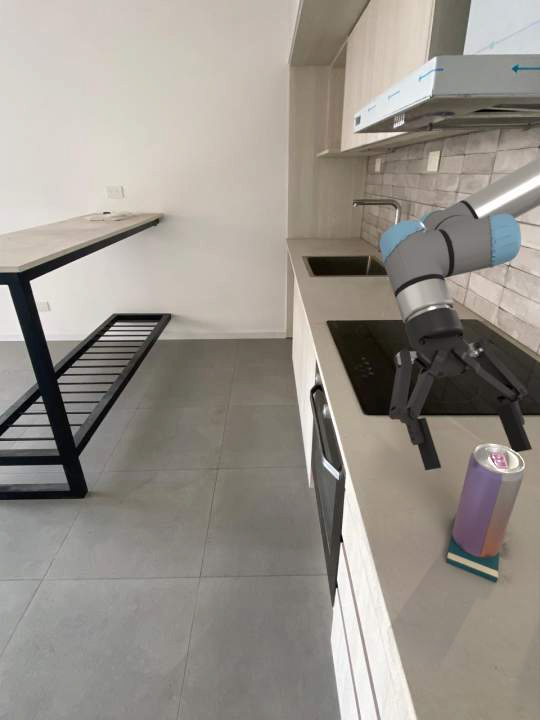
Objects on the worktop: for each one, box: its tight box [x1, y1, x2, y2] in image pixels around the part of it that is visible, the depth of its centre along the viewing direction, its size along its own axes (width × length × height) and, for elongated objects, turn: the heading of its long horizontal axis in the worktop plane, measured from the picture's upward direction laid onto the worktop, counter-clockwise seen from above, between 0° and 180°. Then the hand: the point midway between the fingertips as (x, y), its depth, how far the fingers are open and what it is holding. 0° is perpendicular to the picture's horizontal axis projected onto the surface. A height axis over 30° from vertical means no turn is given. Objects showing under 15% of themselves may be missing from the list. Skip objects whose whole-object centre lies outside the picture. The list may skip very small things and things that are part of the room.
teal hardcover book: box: [445, 512, 501, 584], centre depth 55 cm, size 9×6×1 cm, turn 150°
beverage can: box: [451, 442, 525, 559], centre depth 52 cm, size 6×6×15 cm
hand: (479, 460), depth 52 cm, fingers open, 13 cm apart
